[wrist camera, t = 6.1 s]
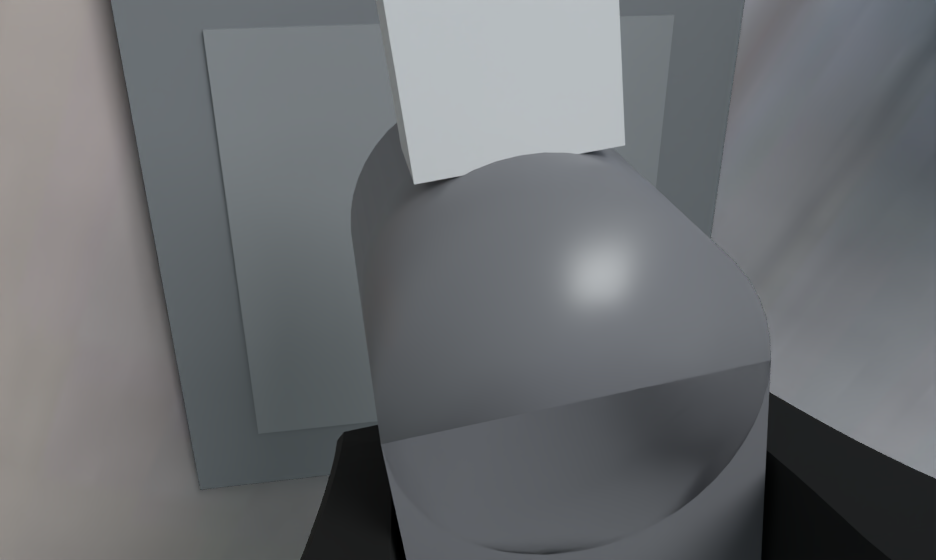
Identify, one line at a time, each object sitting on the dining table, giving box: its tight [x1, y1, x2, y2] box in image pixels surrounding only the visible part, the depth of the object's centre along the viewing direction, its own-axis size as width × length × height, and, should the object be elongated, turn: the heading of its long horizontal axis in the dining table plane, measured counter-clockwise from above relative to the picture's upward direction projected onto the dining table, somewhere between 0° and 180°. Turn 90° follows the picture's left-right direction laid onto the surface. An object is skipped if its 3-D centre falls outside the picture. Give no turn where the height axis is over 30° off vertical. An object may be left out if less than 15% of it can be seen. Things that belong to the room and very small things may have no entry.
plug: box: [351, 0, 771, 560], centre depth 11 cm, size 11×4×4 cm, turn 7°
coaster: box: [111, 0, 745, 490], centre depth 18 cm, size 12×12×1 cm
